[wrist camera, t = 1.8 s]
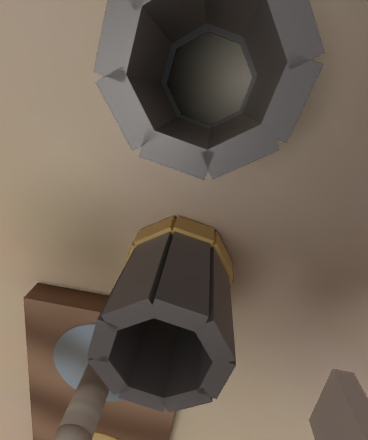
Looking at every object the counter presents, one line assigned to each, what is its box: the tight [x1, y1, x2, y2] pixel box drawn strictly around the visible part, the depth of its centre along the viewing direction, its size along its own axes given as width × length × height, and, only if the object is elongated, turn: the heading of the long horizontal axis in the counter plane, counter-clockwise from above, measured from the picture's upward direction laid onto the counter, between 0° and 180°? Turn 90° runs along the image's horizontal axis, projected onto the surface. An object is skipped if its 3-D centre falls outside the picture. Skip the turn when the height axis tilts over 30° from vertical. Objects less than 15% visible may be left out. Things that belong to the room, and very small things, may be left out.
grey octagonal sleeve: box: [94, 0, 324, 180], centre depth 11 cm, size 6×6×7 cm
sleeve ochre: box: [87, 215, 236, 413], centre depth 14 cm, size 6×6×7 cm
